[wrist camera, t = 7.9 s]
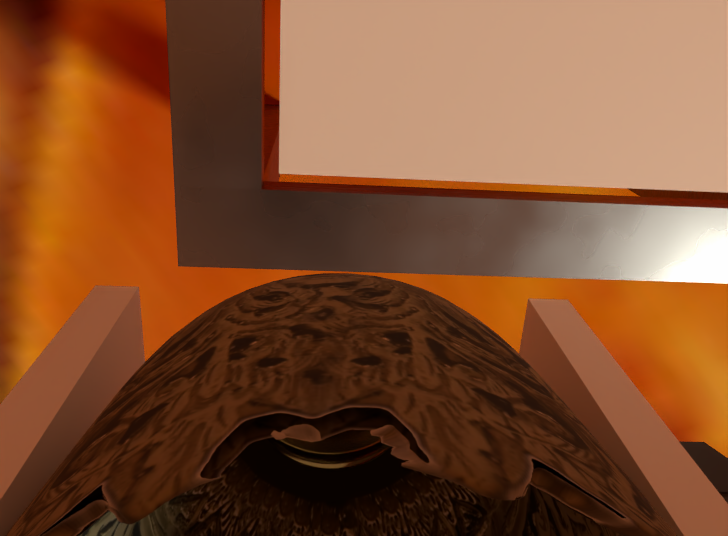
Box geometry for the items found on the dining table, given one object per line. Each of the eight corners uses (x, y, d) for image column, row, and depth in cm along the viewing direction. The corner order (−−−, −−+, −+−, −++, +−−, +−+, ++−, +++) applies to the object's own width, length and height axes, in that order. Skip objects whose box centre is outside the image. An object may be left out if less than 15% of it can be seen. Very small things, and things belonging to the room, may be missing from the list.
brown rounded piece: (165, 517, 14) (-10, 1097, 7) (102, 180, 11) (-324, 535, 4) (511, 495, 14) (712, 1024, 7) (534, 161, 12) (912, 454, 4)
